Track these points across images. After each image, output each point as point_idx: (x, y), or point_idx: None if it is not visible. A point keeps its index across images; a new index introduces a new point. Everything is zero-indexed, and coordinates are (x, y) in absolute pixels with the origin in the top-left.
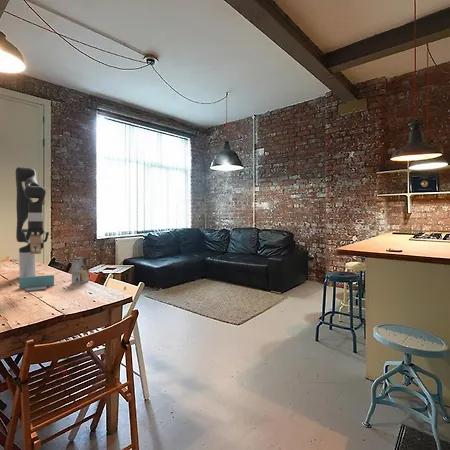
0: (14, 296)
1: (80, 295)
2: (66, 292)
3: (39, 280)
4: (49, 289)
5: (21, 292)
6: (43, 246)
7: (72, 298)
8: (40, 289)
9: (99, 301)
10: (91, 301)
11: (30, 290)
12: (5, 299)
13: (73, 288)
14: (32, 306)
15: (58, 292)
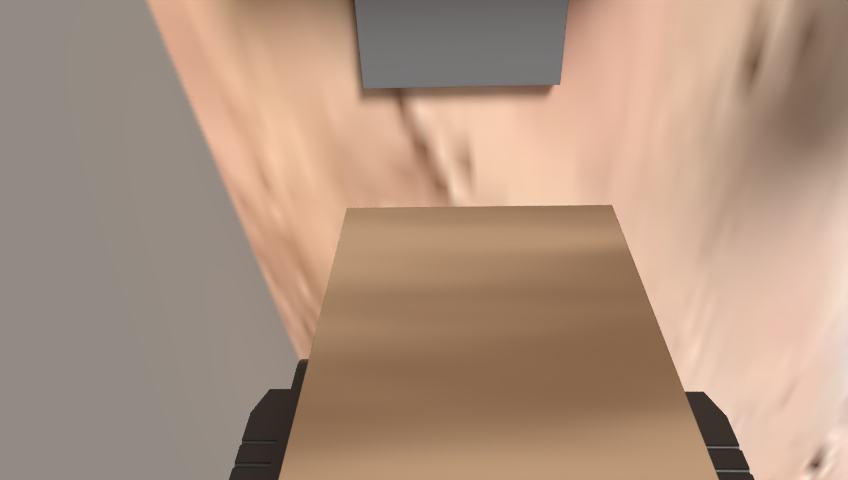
0: (305, 201)
1: (792, 341)
2: (723, 228)
3: None
4: (596, 57)
5: (330, 82)
6: (730, 455)
7: (716, 383)
8: (507, 82)
9: (838, 475)
10: (798, 462)
11: (411, 85)
12: (263, 259)
13: (833, 107)
14: None
15: (659, 205)
